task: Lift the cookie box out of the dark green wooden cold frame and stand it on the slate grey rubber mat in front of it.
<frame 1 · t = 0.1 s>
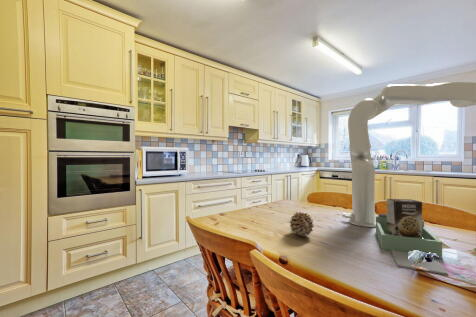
cookie box: (404, 244, 82), resting in cold frame
cold frame: (404, 243, 82), on the table
pine cone: (299, 233, 94), on the table
mat: (416, 262, 67), on the table
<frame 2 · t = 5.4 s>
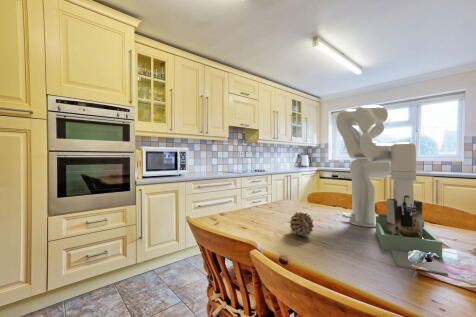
hand: (403, 223, 82), 7 cm above the table, tool pointing down, fingers closed on cookie box, 7 cm apart
cookie box: (404, 243, 82), resting in cold frame, touching gripper
everything else where it was.
when the fingers open (9 cm above the table, at t = 13.1 s): cookie box drops 1 cm, resting on mat.
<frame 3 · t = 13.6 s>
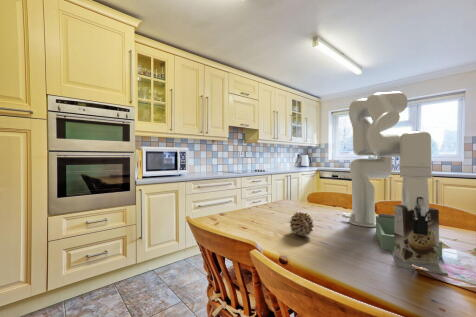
hand: (415, 229, 67), 10 cm above the table, tool pointing down, fingers open, 9 cm apart
cookie box: (415, 260, 67), resting on mat
everything else where it was.
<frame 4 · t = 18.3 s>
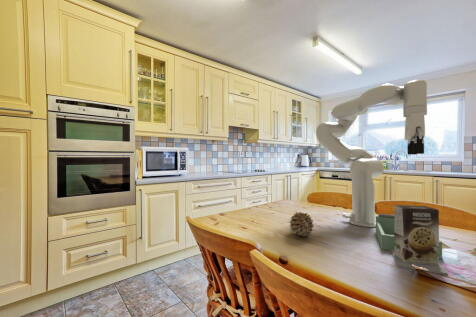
hand: (415, 154, 90), 33 cm above the table, tool pointing down, fingers open, 9 cm apart
nothing on the table moved.
at the end: cookie box inside the target area on the mat (0.3 cm from its centre), point 0.3 cm above the mat's base; cookie box tilted 0°; the gripper is holding nothing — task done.
